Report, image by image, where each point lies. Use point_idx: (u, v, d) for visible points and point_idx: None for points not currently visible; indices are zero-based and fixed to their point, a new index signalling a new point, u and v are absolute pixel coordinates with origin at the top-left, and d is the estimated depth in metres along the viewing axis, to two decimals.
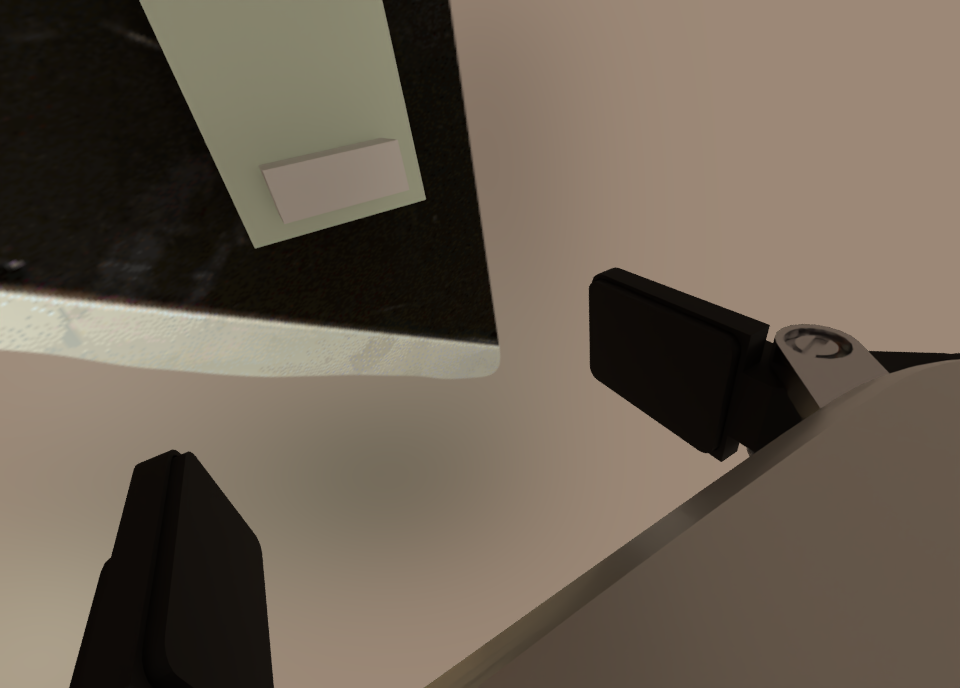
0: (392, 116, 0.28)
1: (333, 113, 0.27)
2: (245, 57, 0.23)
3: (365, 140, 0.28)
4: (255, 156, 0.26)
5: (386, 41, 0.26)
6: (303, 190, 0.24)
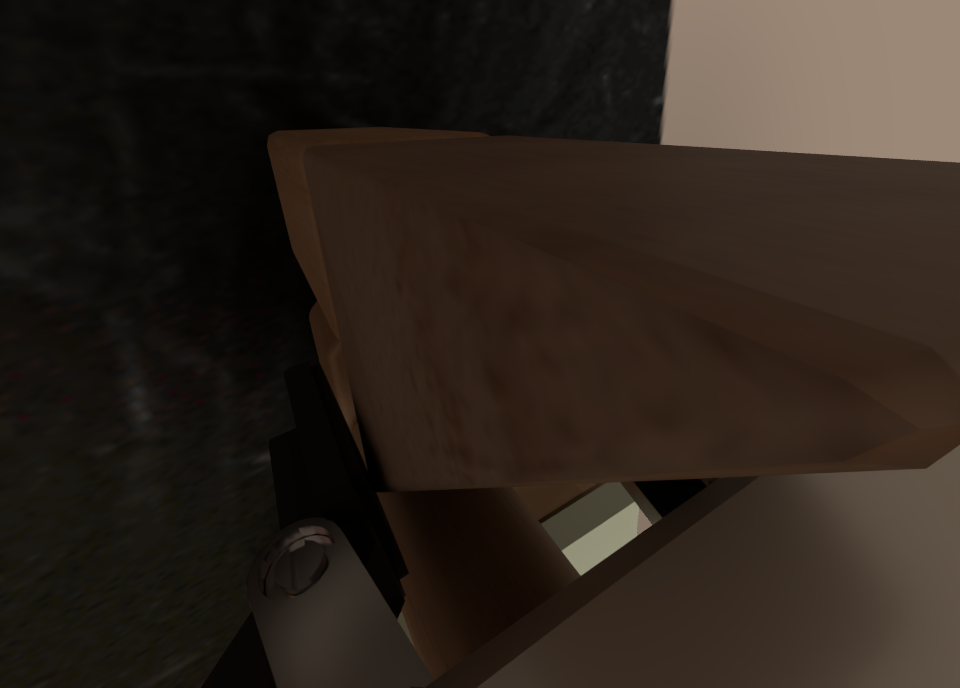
0: None
1: None
2: None
3: None
4: None
5: None
6: None
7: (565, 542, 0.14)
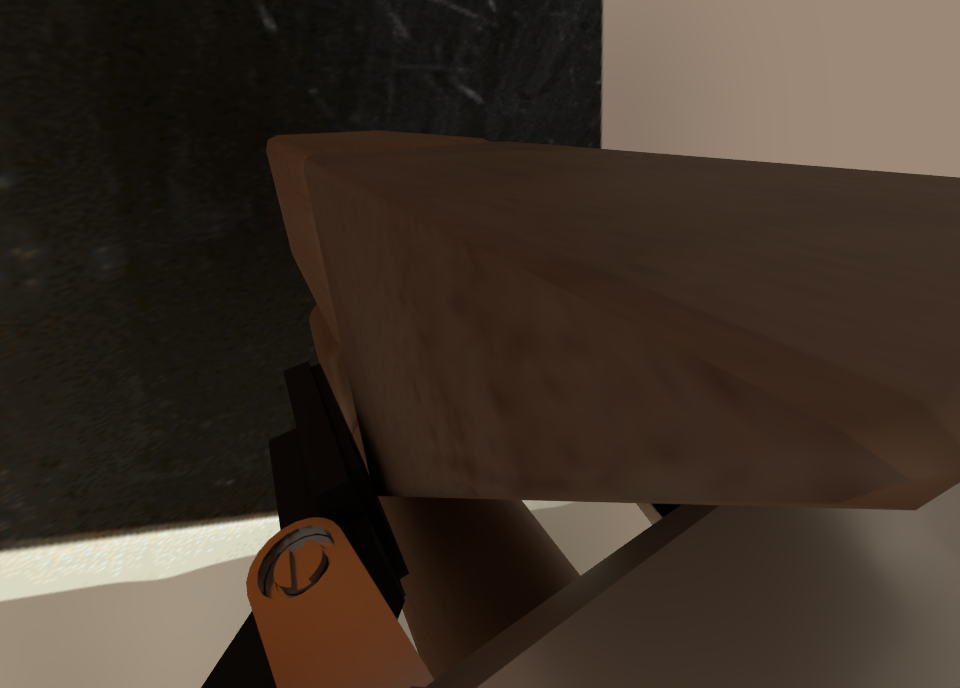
0: None
1: None
2: None
3: None
4: None
5: None
6: None
7: None
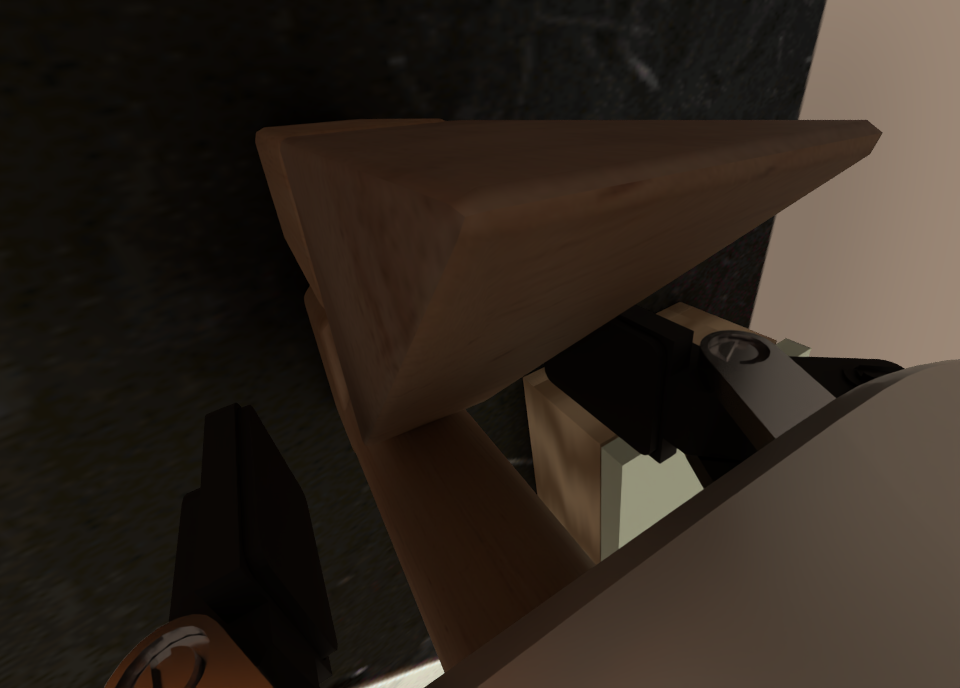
0: None
1: None
2: None
3: None
4: None
5: None
6: None
7: None
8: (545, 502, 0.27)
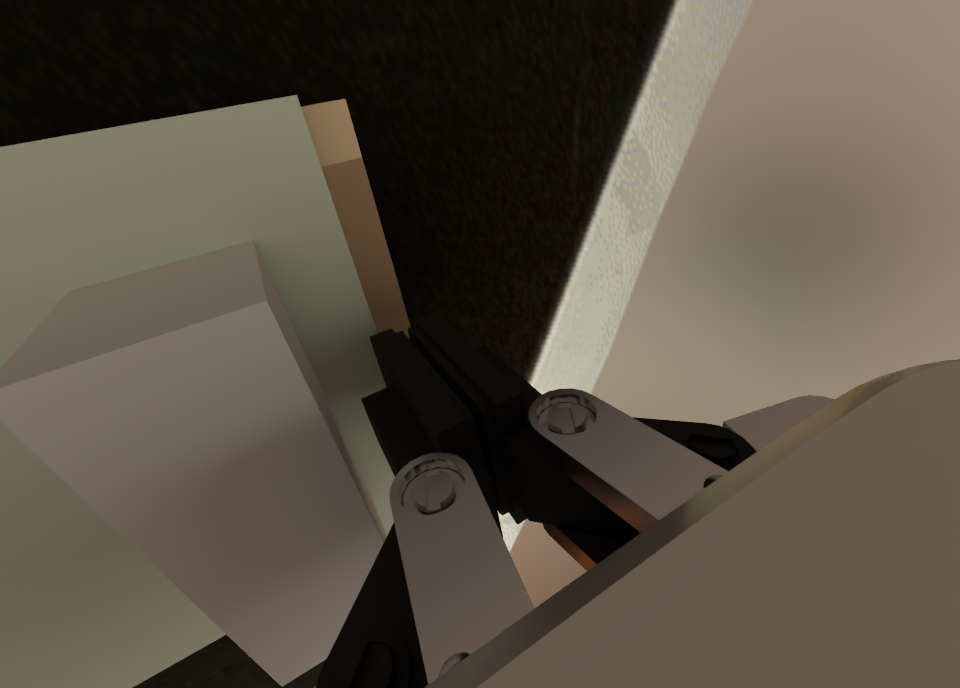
0: None
1: None
2: None
3: None
4: None
5: None
6: (324, 605, 0.08)
7: None
8: None
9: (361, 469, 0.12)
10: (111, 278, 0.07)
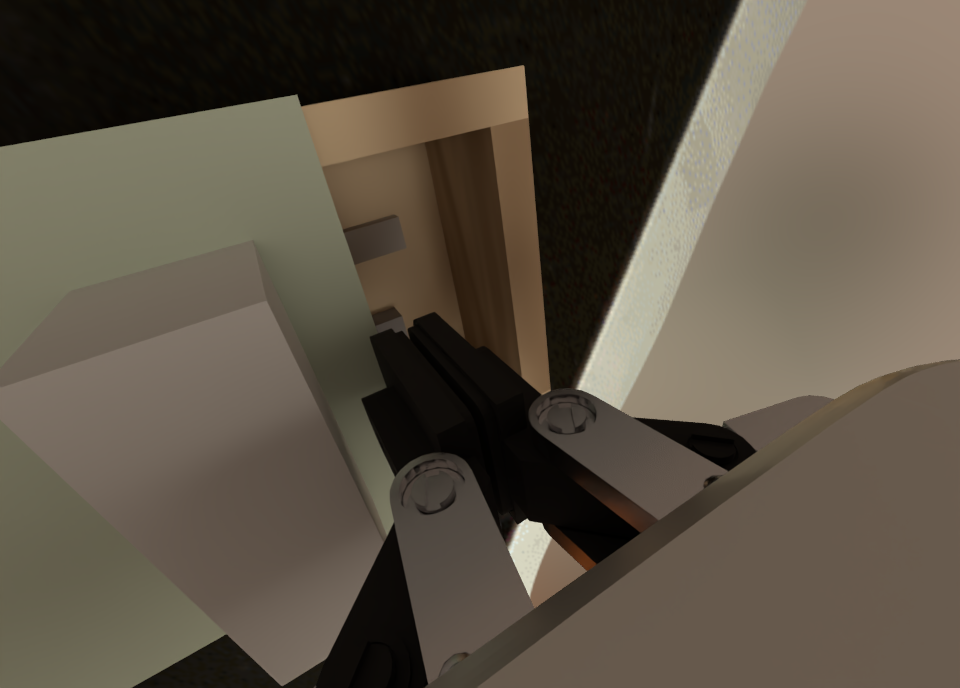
0: None
1: None
2: None
3: None
4: None
5: None
6: (324, 605, 0.08)
7: None
8: None
9: (361, 468, 0.12)
10: (111, 278, 0.07)
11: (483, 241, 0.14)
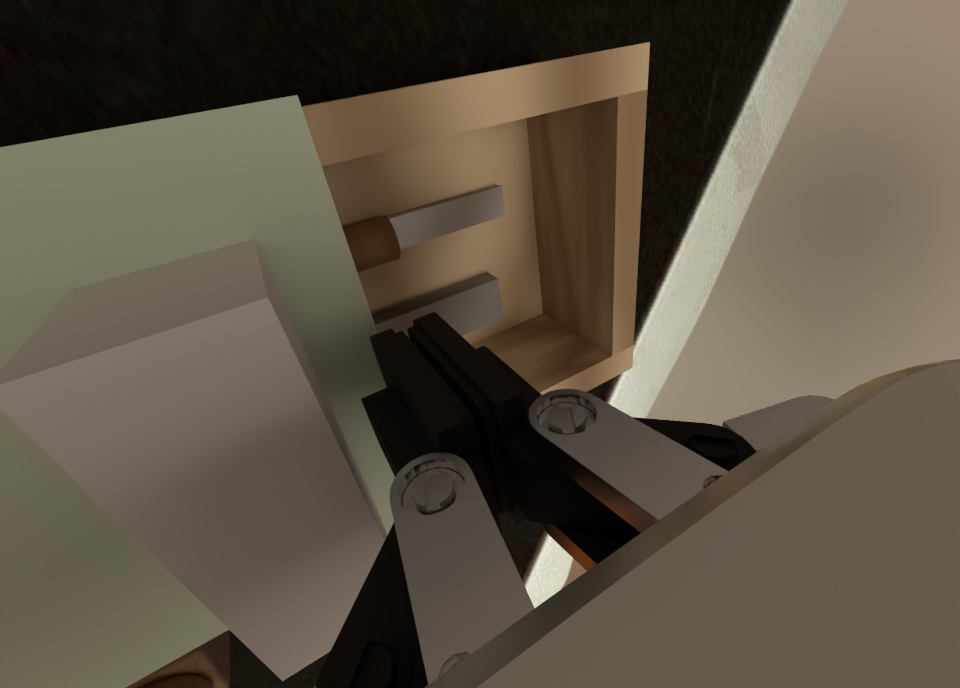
0: None
1: None
2: None
3: None
4: None
5: None
6: (324, 601, 0.08)
7: None
8: None
9: (361, 466, 0.12)
10: (114, 276, 0.07)
11: (587, 205, 0.16)
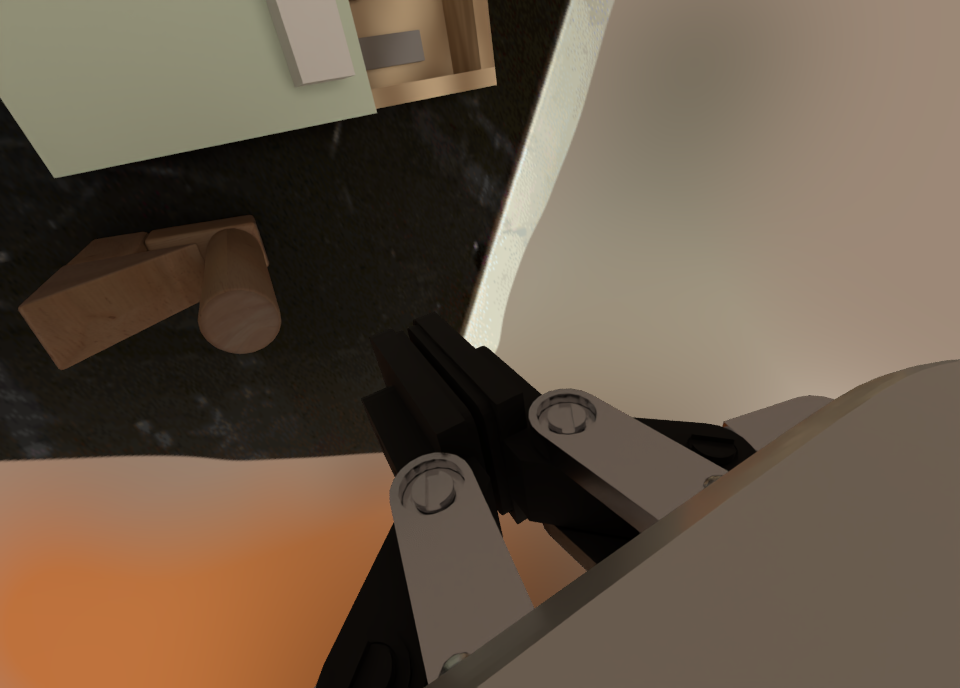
0: None
1: None
2: (187, 71, 0.23)
3: None
4: (286, 88, 0.26)
5: None
6: (319, 43, 0.23)
7: None
8: None
9: None
10: None
11: None
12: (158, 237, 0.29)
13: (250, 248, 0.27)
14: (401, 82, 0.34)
